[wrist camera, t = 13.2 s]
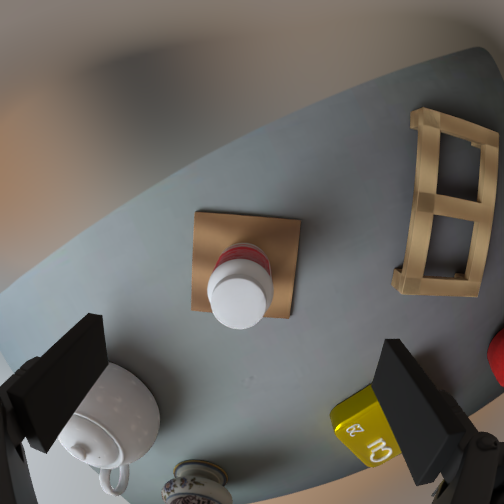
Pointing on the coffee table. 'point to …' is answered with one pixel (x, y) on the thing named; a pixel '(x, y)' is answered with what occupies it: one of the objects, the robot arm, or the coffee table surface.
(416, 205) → the bottle rack
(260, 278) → the pill bottle
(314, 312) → the coffee table surface
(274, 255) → the brown flat square
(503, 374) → the apple
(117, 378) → the teapot
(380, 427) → the element tile
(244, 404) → the coffee table surface
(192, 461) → the apothecary jar
